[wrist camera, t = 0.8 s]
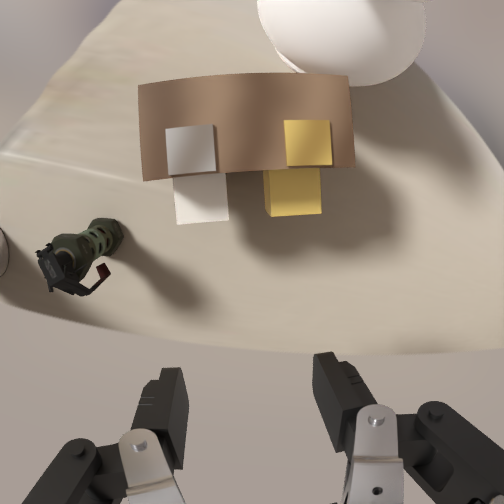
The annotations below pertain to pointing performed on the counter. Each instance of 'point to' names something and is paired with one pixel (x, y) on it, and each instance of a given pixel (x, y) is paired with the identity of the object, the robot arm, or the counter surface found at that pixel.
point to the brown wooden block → (245, 124)
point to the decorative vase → (346, 36)
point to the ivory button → (201, 198)
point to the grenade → (79, 256)
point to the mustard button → (292, 191)
